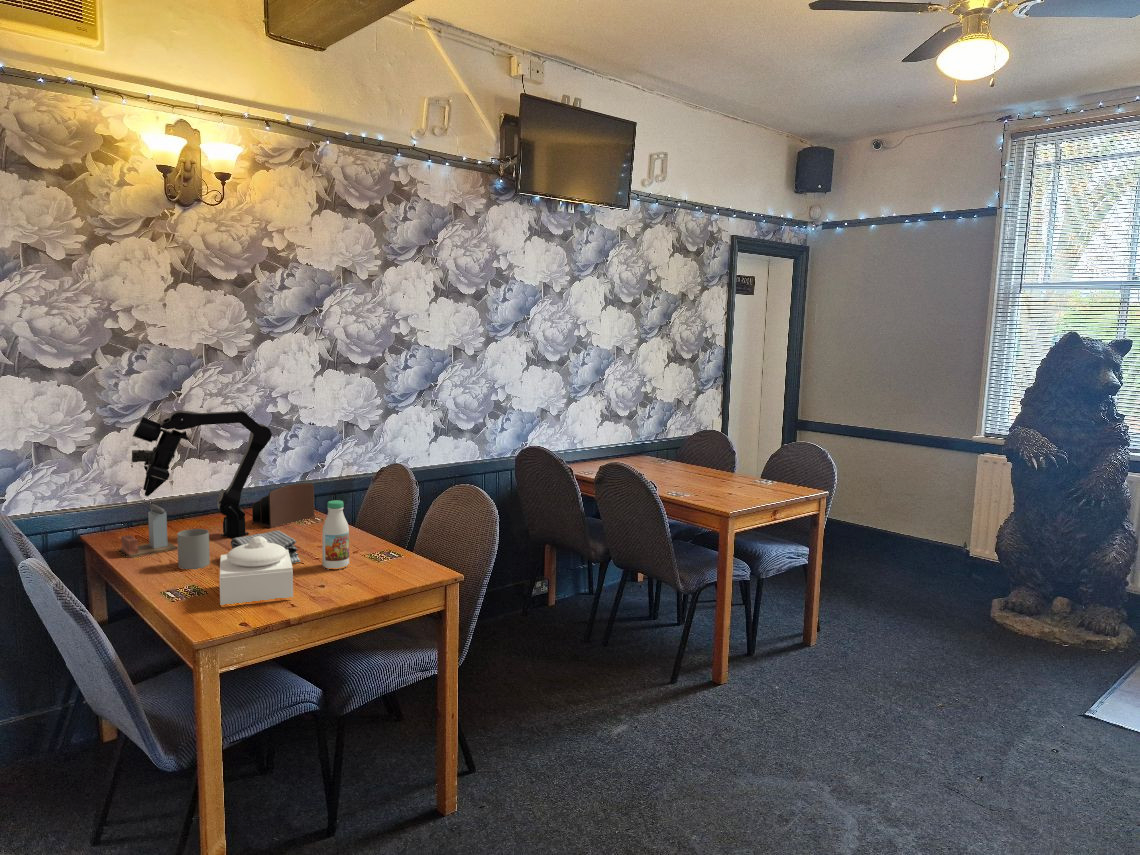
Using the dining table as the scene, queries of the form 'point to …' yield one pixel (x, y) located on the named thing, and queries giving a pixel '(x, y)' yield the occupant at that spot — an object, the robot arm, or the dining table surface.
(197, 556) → the cup
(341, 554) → the milk bottle
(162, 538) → the grey t-shaped piece
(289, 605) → the dining table surface
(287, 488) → the letter holder
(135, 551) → the tan base plate
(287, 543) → the towel
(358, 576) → the dining table surface
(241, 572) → the white block with dome
